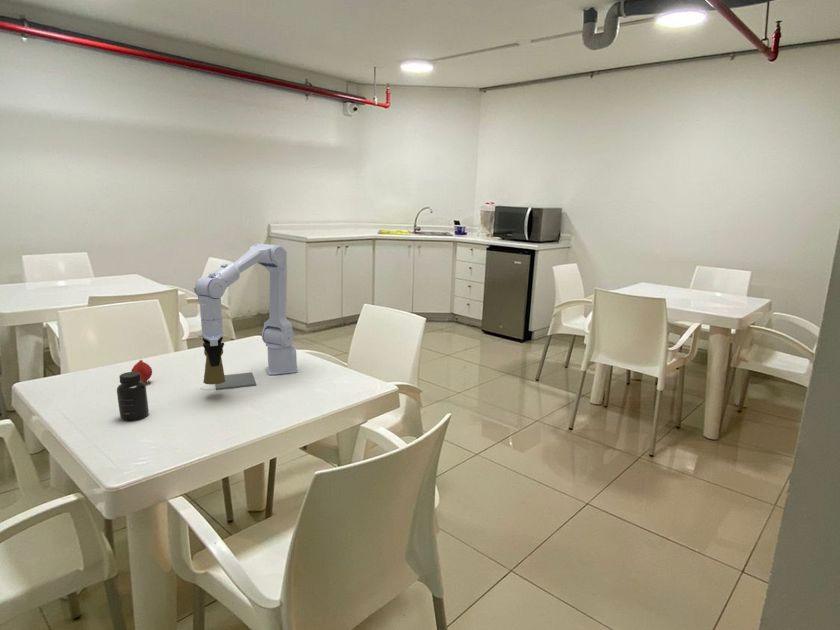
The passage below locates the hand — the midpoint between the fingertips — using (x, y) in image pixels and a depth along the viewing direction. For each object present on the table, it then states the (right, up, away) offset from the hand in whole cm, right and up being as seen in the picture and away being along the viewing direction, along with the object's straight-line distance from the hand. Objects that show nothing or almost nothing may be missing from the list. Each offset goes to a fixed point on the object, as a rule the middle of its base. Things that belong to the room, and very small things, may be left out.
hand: (214, 363), depth 150 cm
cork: (0, -6, +1) cm, 6 cm away
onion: (-27, -8, +11) cm, 30 cm away
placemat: (+1, -7, +14) cm, 16 cm away
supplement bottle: (-16, -13, -13) cm, 25 cm away
